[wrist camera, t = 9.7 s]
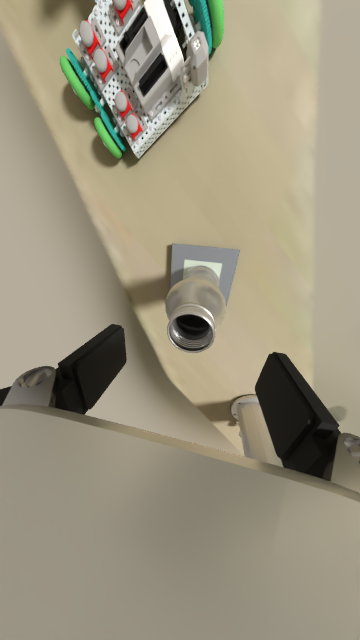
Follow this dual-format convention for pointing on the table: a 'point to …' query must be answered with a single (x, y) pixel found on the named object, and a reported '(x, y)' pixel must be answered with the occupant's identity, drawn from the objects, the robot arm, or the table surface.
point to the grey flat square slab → (204, 263)
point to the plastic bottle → (195, 310)
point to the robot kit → (142, 65)
